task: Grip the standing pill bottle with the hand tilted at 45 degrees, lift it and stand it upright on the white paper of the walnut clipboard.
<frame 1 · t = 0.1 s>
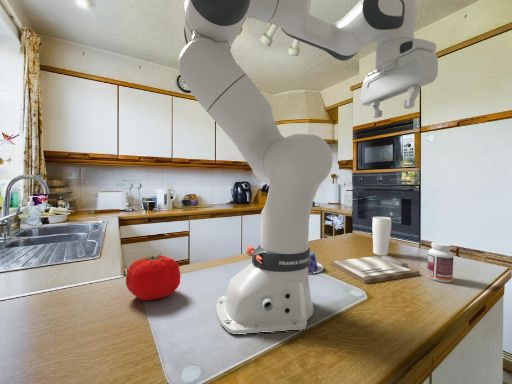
hand: (392, 112, 62), 48 cm above the countertop, tool pointing down, fingers open, 8 cm apart
tomato: (154, 296, 59), on the countertop
pudding: (305, 268, 80), on the countertop
pill bottle: (439, 279, 72), on the countertop
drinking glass: (380, 254, 95), on the countertop
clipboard: (372, 269, 79), on the countertop
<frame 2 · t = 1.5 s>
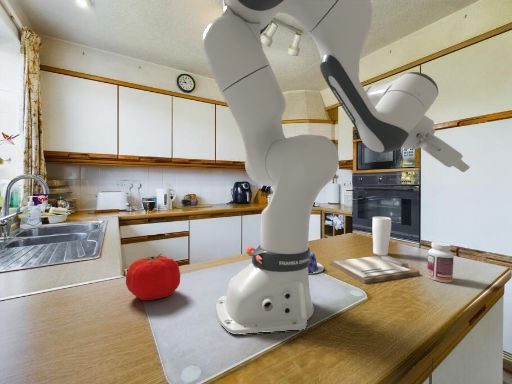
hand: (458, 164, 60), 34 cm above the countertop, tool tilted 55°, fingers open, 8 cm apart
nothing on the countertop moved.
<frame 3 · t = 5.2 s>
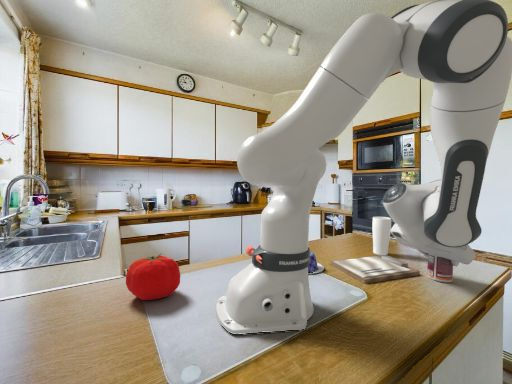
hand: (441, 259, 72), 6 cm above the countertop, tool tilted 45°, fingers closed on pill bottle, 6 cm apart
pill bottle: (439, 279, 72), on the countertop, touching gripper
everything else where it was.
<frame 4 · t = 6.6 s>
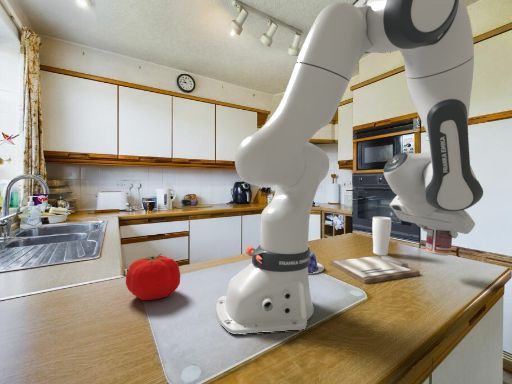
hand: (440, 233, 72), 14 cm above the countertop, tool tilted 45°, fingers closed on pill bottle, 6 cm apart
pill bottle: (437, 253, 72), point 8 cm above the countertop, touching gripper
everything else where it was.
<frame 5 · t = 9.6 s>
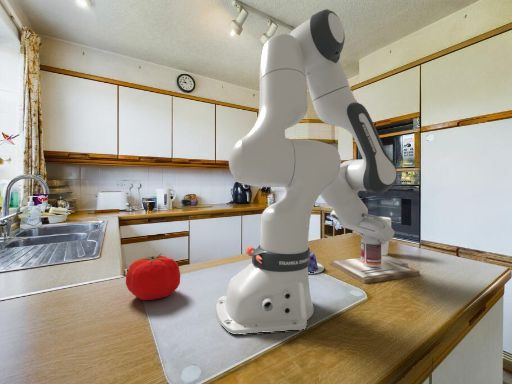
hand: (374, 239, 79), 10 cm above the countertop, tool tilted 45°, fingers closed on pill bottle, 6 cm apart
pill bottle: (370, 264, 79), point 1 cm above the countertop, touching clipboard, gripper
everything else where it was.
when the fingers open (9 cm above the countertop, at t = 10.4 s): pill bottle stays where it is, resting on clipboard.
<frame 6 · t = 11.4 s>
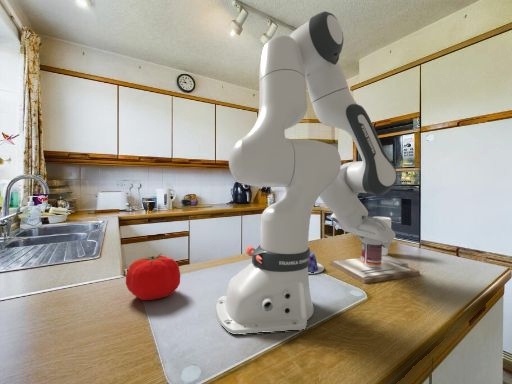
hand: (375, 242, 78), 9 cm above the countertop, tool tilted 45°, fingers open, 8 cm apart
pill bottle: (370, 265, 79), point 1 cm above the countertop, touching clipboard, gripper
everything else where it was.
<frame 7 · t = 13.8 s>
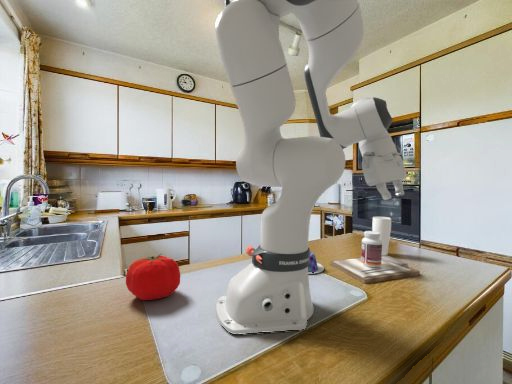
hand: (394, 197, 67), 25 cm above the countertop, tool tilted 20°, fingers open, 8 cm apart
pill bottle: (370, 265, 79), point 1 cm above the countertop, touching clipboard
everything else where it was.
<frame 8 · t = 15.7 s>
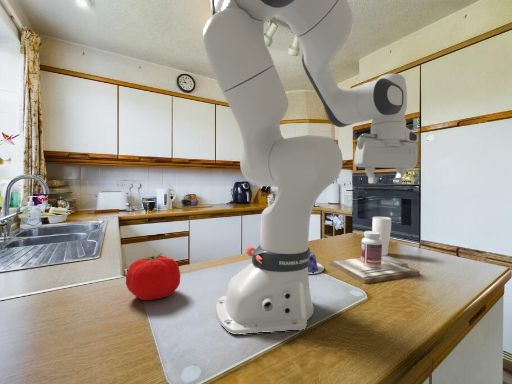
hand: (385, 183, 68), 29 cm above the countertop, tool pointing down, fingers open, 8 cm apart
nothing on the countertop moved.
at the end: pill bottle inside the target area on the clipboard (0.6 cm from its centre), point 1.3 cm above the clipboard's base; pill bottle tilted 0°; the gripper is holding nothing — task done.
